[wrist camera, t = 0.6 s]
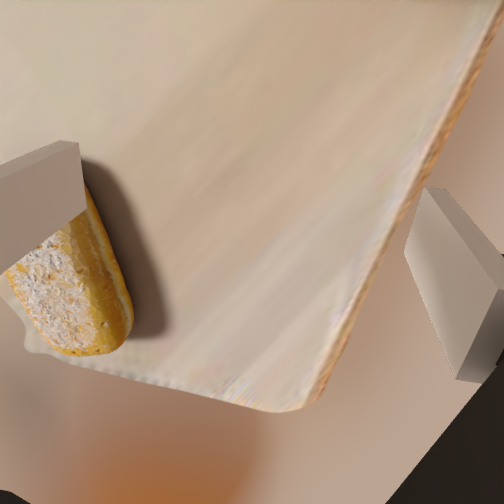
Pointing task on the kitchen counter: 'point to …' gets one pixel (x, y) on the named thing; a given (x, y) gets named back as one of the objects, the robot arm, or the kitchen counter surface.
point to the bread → (75, 288)
